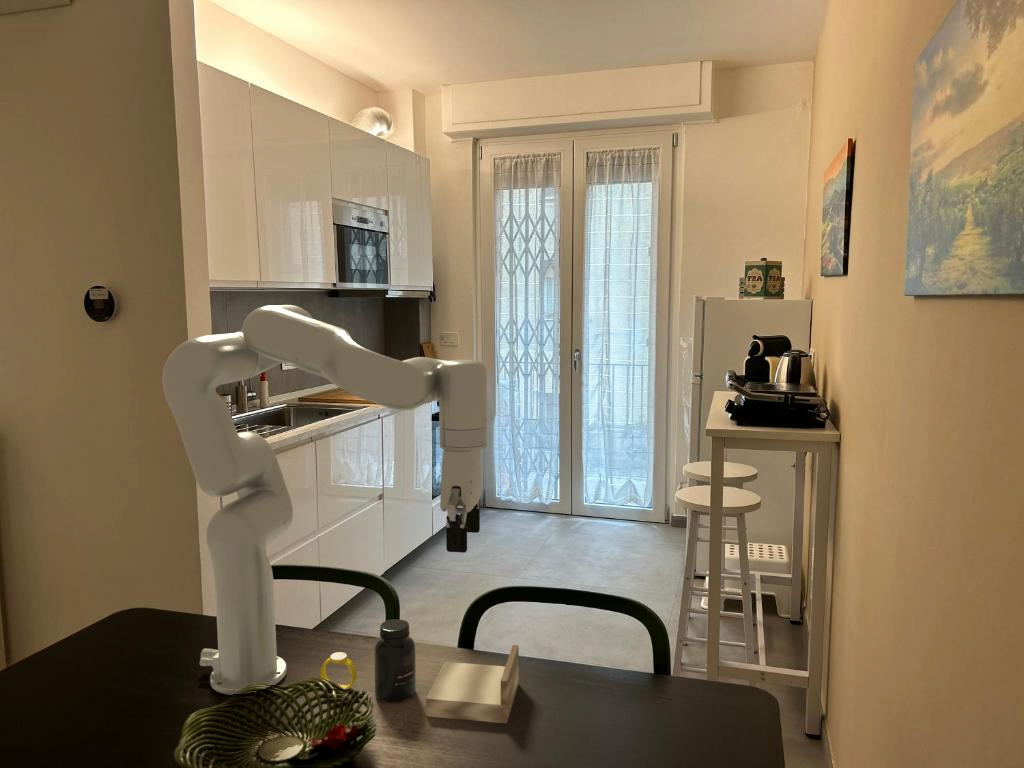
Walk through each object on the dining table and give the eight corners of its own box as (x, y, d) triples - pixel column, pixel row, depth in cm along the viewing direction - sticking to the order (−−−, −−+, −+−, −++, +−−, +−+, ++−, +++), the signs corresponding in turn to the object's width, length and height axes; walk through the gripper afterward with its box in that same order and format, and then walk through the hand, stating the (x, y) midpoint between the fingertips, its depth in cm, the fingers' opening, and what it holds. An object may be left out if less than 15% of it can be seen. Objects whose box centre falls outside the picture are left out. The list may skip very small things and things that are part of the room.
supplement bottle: (408, 706, 121) (406, 636, 120) (368, 701, 123) (366, 632, 121) (421, 684, 128) (420, 617, 127) (383, 680, 129) (382, 614, 128)
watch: (357, 687, 128) (359, 654, 127) (351, 696, 125) (352, 662, 124) (325, 681, 129) (326, 649, 128) (318, 689, 126) (319, 656, 126)
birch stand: (426, 716, 118) (425, 674, 118) (444, 678, 130) (444, 639, 129) (507, 723, 116) (506, 681, 116) (518, 684, 128) (518, 645, 127)
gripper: (452, 427, 128) (453, 524, 130) (425, 447, 111) (427, 558, 113) (496, 428, 127) (496, 526, 129) (475, 449, 110) (475, 561, 112)
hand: (463, 541), depth 121 cm, fingers open, 9 cm apart
